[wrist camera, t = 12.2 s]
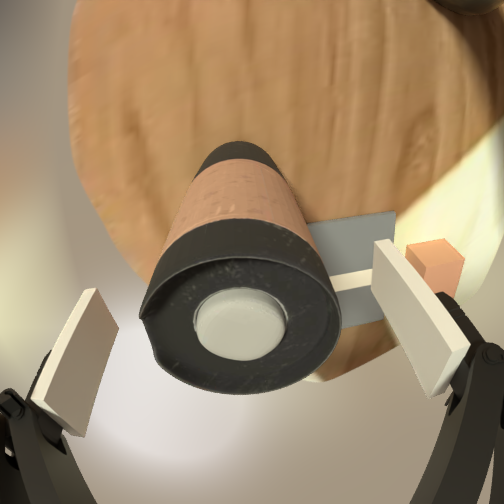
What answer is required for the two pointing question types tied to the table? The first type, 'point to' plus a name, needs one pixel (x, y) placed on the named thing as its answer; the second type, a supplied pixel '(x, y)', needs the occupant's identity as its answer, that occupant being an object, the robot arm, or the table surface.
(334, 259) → the letter mat
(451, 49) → the table surface
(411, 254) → the terracotta block
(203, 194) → the travel mug
